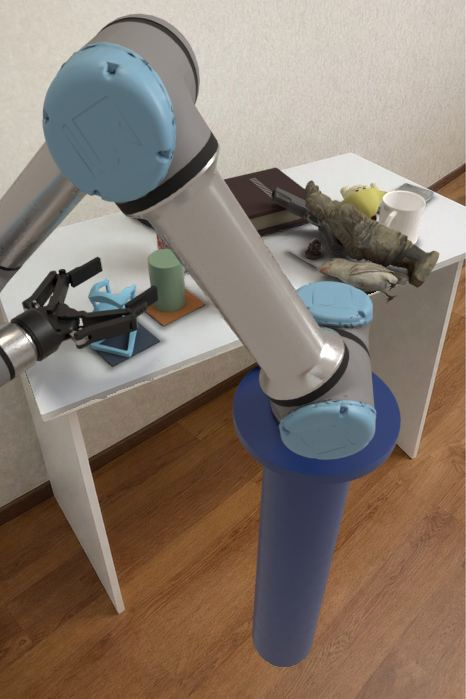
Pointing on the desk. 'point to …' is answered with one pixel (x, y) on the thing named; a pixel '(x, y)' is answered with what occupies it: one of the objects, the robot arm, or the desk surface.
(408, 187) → the phone
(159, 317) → the cork mat
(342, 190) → the toy
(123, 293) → the chair
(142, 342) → the slate mat
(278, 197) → the handgun
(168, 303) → the canister
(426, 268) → the statue
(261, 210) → the book
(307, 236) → the desk surface
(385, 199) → the mug
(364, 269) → the decorative bird
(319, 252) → the figurine
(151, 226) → the usb flash drive
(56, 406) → the desk surface
